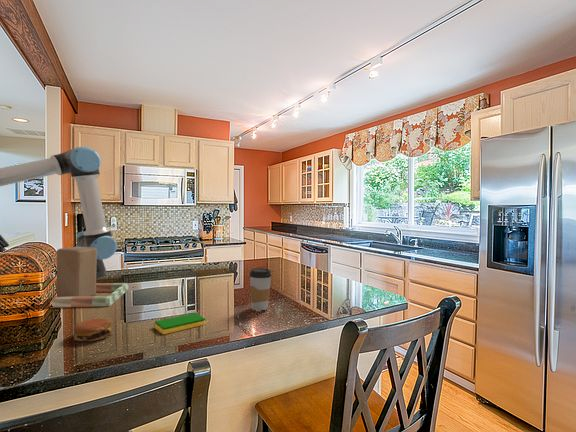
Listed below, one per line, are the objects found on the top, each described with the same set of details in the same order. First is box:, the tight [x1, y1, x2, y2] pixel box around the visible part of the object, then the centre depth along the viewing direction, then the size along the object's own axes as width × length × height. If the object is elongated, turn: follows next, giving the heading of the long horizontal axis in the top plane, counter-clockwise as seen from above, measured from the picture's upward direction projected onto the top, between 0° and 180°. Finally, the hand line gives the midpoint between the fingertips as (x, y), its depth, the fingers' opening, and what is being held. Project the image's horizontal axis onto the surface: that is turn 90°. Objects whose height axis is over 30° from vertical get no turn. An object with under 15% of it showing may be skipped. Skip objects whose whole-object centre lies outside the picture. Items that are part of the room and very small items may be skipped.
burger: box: [73, 318, 112, 342], centre depth 93 cm, size 10×9×5 cm
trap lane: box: [52, 282, 129, 308], centre depth 130 cm, size 24×20×3 cm
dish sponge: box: [154, 312, 206, 335], centre depth 103 cm, size 7×14×2 cm, turn 133°
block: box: [55, 245, 97, 297], centre depth 129 cm, size 10×10×20 cm
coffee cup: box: [249, 267, 272, 312], centre depth 123 cm, size 8×8×15 cm
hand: (15, 261), depth 124 cm, fingers closed
